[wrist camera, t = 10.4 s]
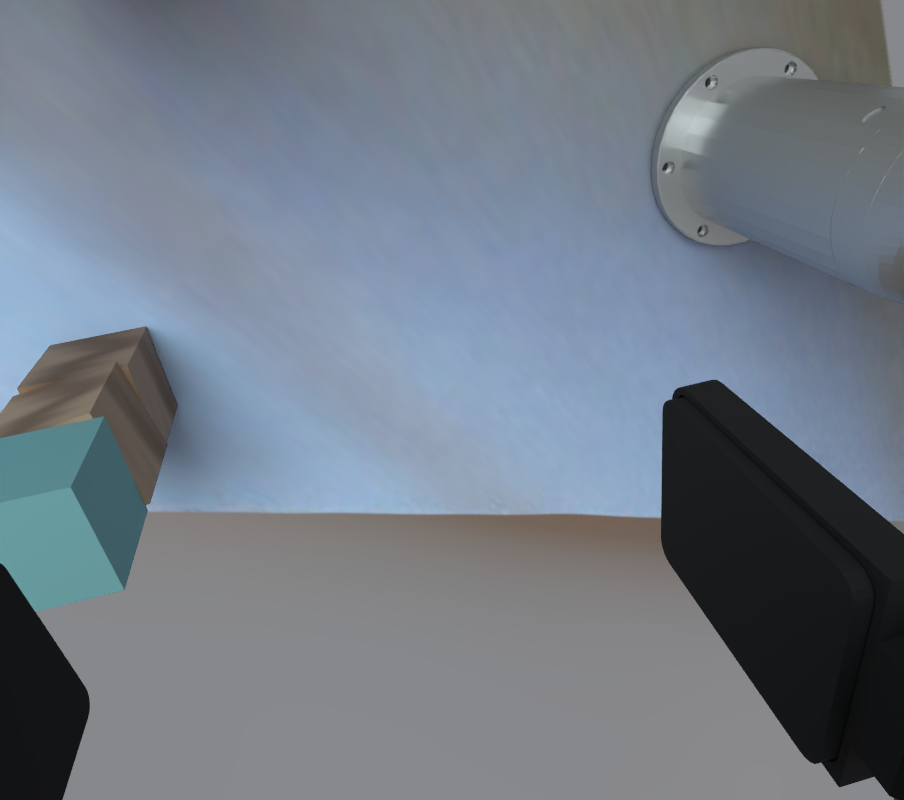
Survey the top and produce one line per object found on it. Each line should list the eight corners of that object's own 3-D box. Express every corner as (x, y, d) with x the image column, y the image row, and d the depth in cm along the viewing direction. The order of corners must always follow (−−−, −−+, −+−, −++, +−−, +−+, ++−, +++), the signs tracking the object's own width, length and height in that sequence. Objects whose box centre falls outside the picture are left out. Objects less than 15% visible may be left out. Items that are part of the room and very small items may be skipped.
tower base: (146, 326, 43) (127, 365, 38) (177, 405, 46) (163, 452, 41) (50, 345, 42) (17, 388, 37) (88, 424, 45) (62, 474, 40)
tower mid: (116, 361, 38) (89, 412, 33) (167, 444, 41) (150, 503, 36) (13, 396, 37) (-31, 454, 32) (72, 477, 41) (41, 541, 35)
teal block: (104, 416, 33) (70, 487, 28) (147, 510, 36) (124, 590, 31) (-25, 443, 32) (-84, 521, 27) (31, 536, 35) (-13, 623, 30)
